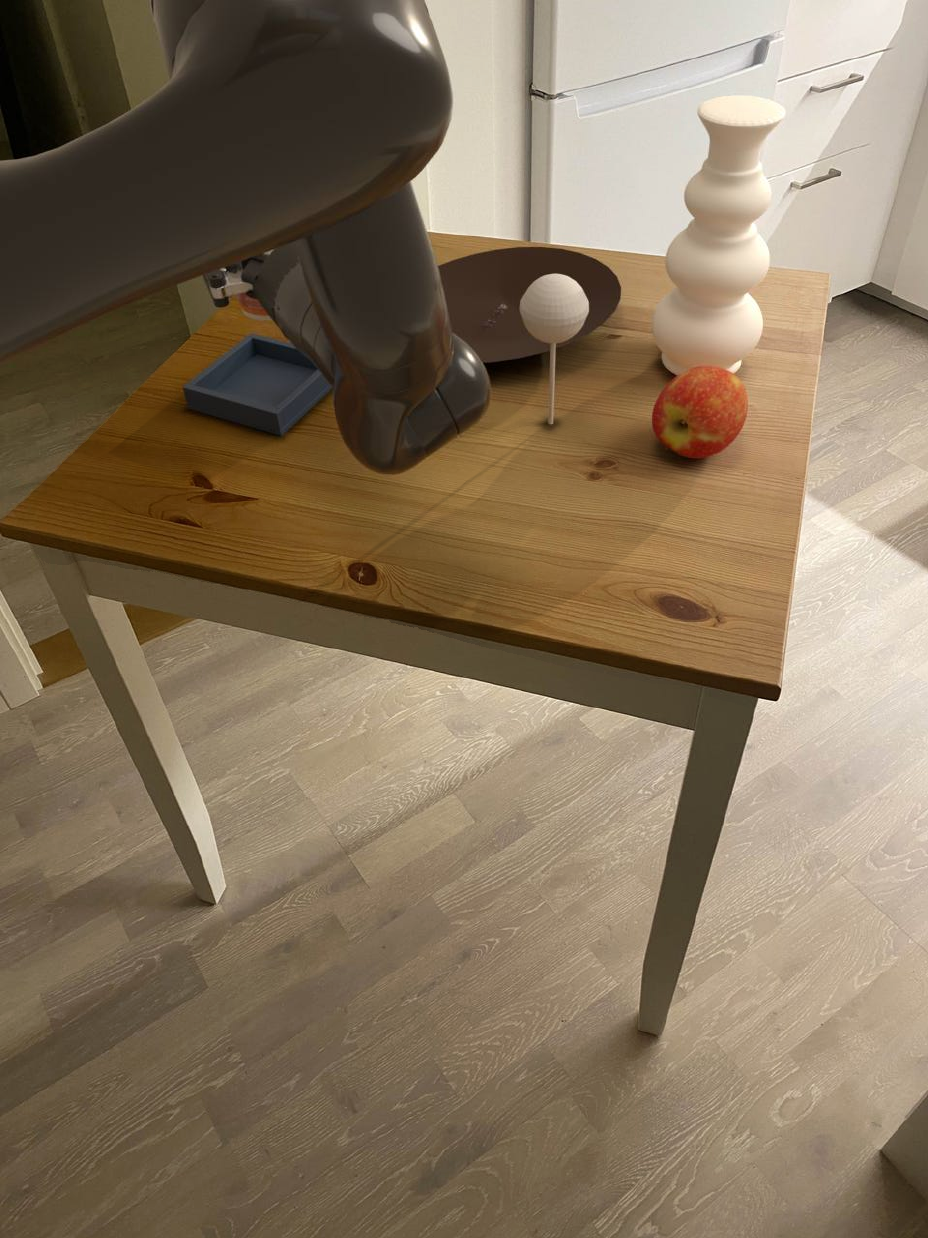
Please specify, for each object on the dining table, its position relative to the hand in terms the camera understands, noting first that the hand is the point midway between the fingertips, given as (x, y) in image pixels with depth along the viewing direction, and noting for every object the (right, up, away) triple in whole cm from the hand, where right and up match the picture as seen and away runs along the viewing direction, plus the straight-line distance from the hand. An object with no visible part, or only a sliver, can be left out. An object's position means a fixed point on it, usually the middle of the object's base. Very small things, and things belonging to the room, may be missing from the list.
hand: (251, 229), depth 85 cm
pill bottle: (+1, -6, +3) cm, 7 cm away
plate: (+23, -1, +22) cm, 32 cm away
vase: (+44, -9, +14) cm, 47 cm away
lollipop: (+28, -16, +8) cm, 33 cm away
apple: (+41, -19, +4) cm, 45 cm away
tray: (-1, -11, +14) cm, 18 cm away
